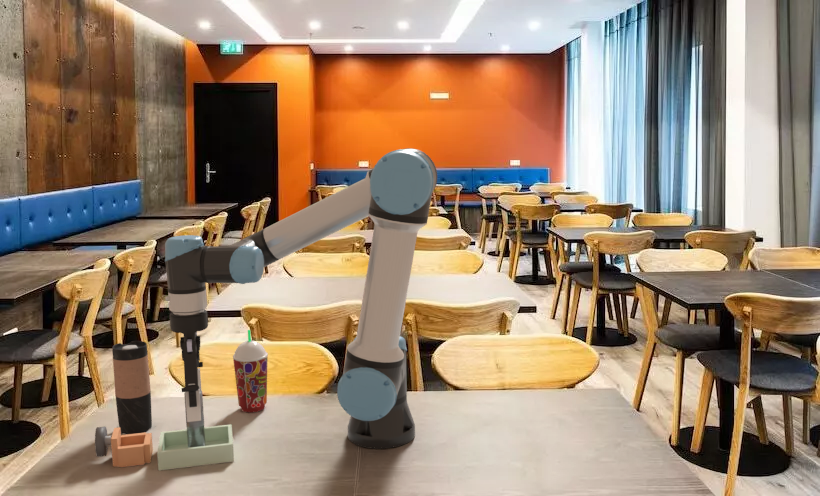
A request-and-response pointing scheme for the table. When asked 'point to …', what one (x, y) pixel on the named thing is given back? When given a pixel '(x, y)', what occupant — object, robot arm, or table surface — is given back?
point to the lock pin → (196, 428)
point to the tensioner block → (124, 447)
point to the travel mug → (132, 387)
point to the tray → (195, 448)
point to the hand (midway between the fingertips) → (194, 409)
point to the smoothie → (251, 375)
